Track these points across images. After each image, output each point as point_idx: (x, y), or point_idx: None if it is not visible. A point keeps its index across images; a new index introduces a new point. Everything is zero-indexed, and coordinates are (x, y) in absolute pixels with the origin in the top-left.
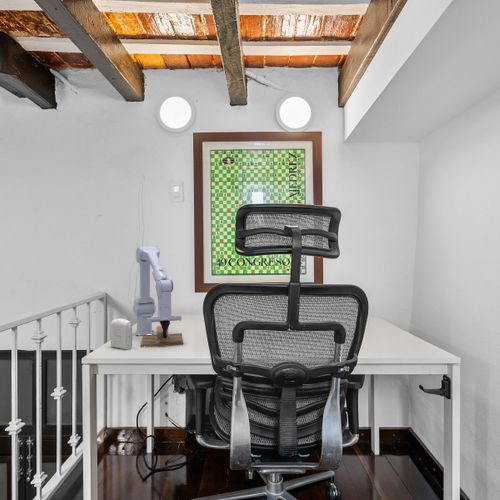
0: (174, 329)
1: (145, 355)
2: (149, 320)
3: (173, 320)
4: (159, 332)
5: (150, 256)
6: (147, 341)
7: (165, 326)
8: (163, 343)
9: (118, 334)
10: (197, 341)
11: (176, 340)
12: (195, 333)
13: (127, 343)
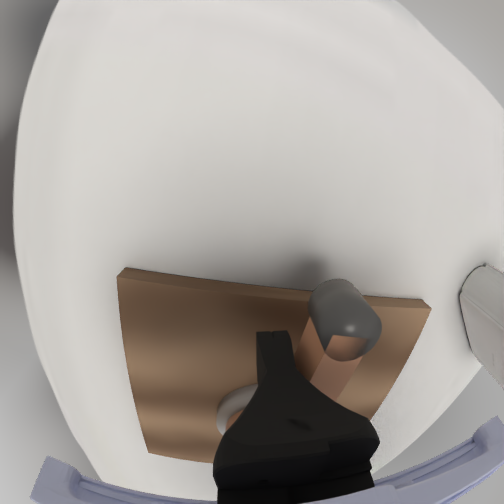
0: (189, 494)
1: (430, 75)
2: (500, 439)
3: (154, 497)
4: (344, 370)
5: None
6: (375, 366)
7: (295, 412)
8: (285, 297)
9: None
10: (49, 315)
11: (169, 342)
12: (95, 440)
13: (501, 279)
